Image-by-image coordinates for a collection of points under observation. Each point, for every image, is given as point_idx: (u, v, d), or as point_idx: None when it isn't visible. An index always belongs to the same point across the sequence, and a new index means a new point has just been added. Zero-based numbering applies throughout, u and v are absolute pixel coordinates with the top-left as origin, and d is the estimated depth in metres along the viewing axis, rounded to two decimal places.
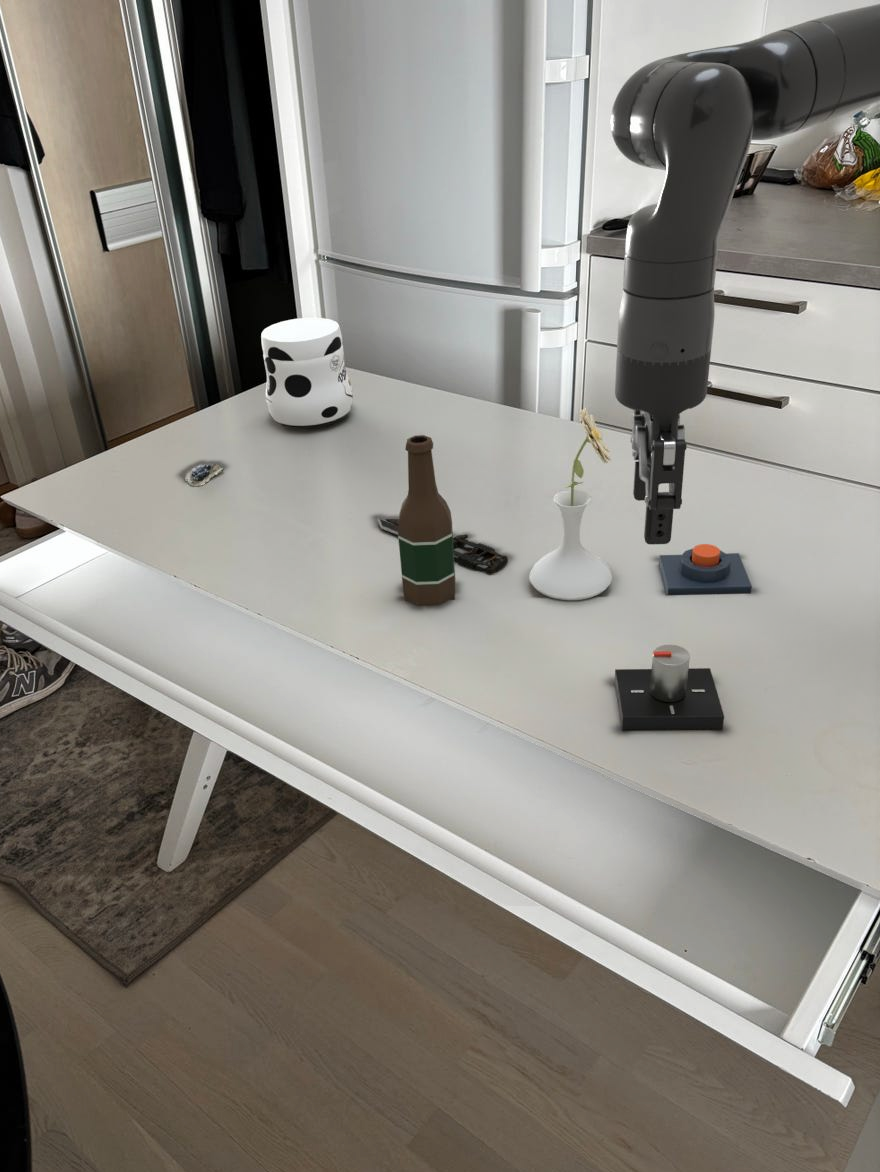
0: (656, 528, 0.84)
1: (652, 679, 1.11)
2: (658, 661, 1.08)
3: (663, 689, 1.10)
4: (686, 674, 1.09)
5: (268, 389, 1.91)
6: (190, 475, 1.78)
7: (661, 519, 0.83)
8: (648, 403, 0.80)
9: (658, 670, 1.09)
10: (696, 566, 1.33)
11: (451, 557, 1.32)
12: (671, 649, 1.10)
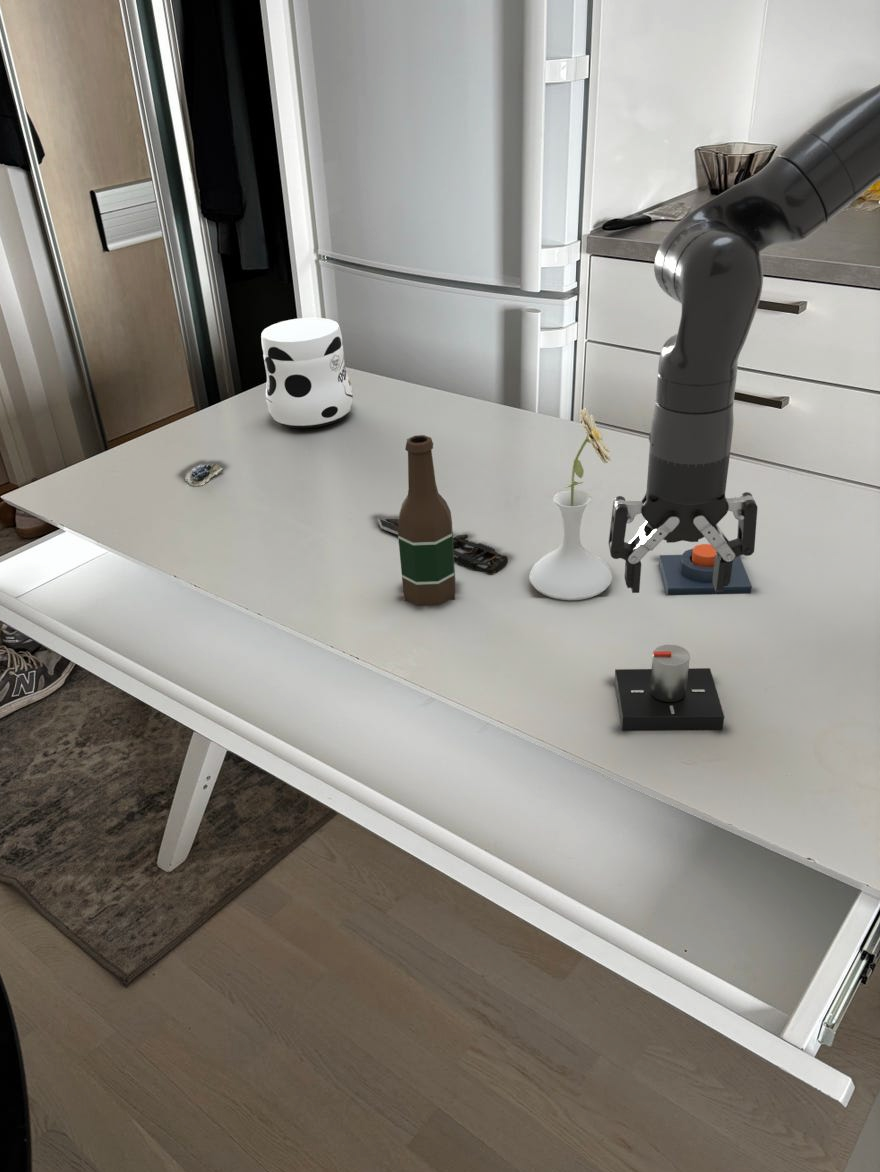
0: (625, 572, 1.03)
1: (652, 679, 1.11)
2: (658, 661, 1.08)
3: (663, 689, 1.10)
4: (686, 674, 1.09)
5: (268, 389, 1.91)
6: (190, 475, 1.78)
7: None
8: None
9: (658, 670, 1.09)
10: (696, 566, 1.33)
11: (451, 557, 1.32)
12: (671, 649, 1.10)
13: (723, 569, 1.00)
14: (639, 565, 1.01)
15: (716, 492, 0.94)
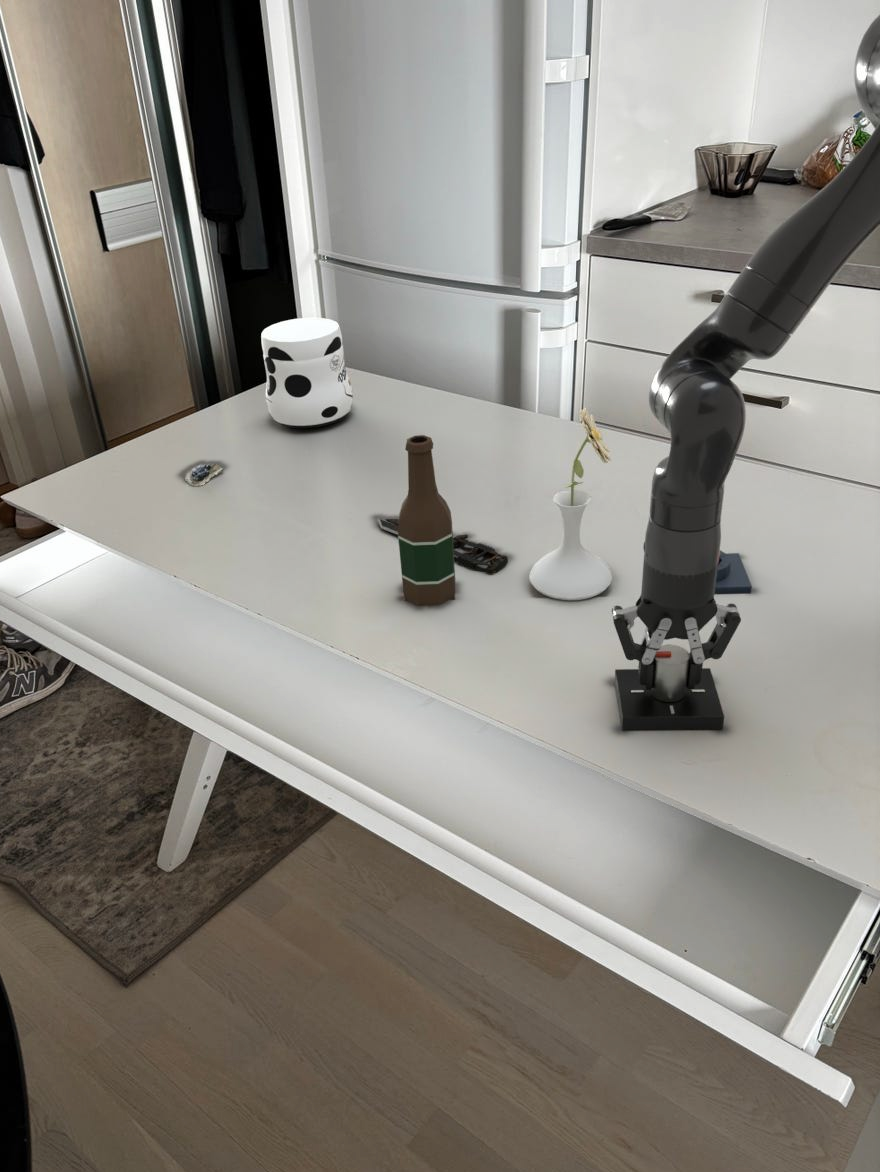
0: (638, 670, 1.11)
1: None
2: (658, 661, 1.08)
3: (663, 689, 1.10)
4: (686, 674, 1.09)
5: (268, 389, 1.91)
6: (190, 475, 1.78)
7: None
8: None
9: (658, 670, 1.09)
10: None
11: (451, 557, 1.32)
12: (671, 649, 1.10)
13: (694, 670, 1.09)
14: (652, 666, 1.09)
15: (705, 598, 1.01)
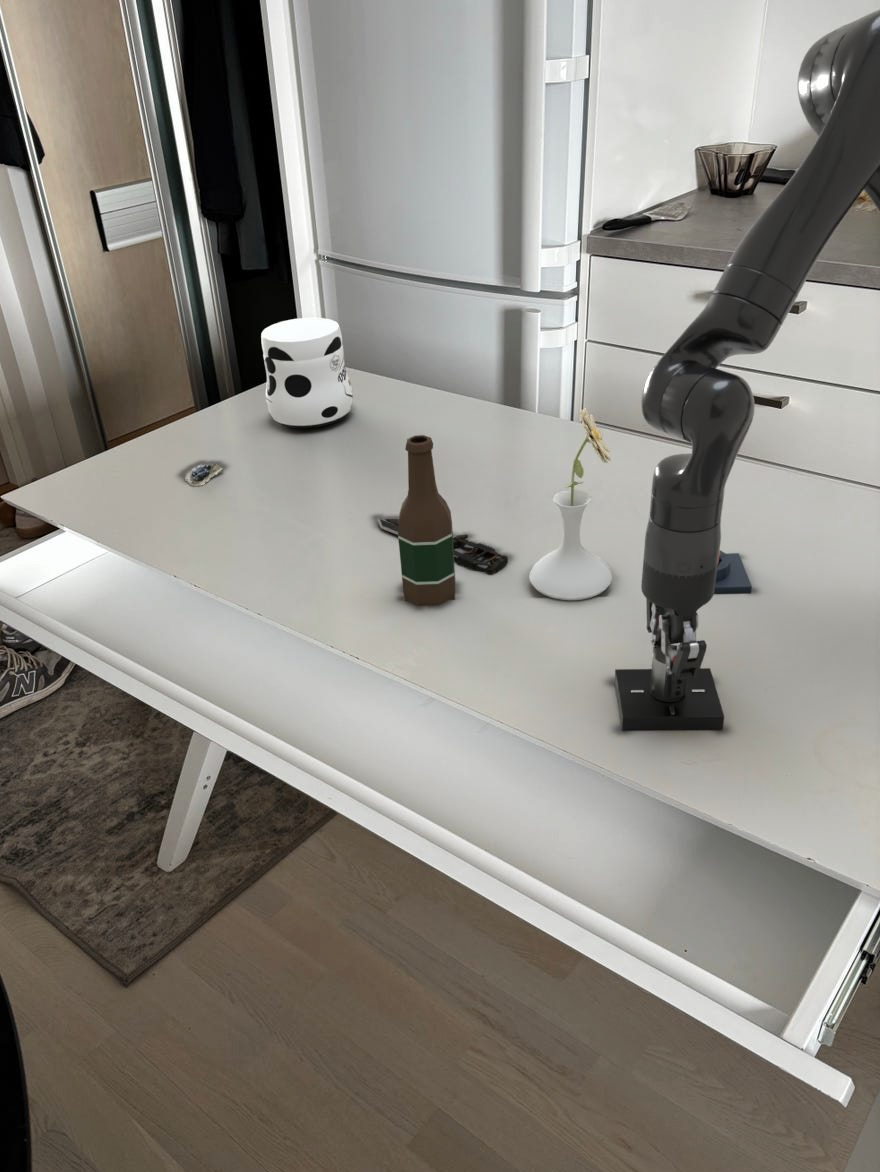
0: (675, 690, 1.08)
1: None
2: None
3: None
4: None
5: (268, 389, 1.91)
6: (190, 475, 1.78)
7: (679, 683, 1.07)
8: (674, 603, 1.01)
9: None
10: None
11: (451, 557, 1.32)
12: (663, 655, 1.09)
13: None
14: None
15: None
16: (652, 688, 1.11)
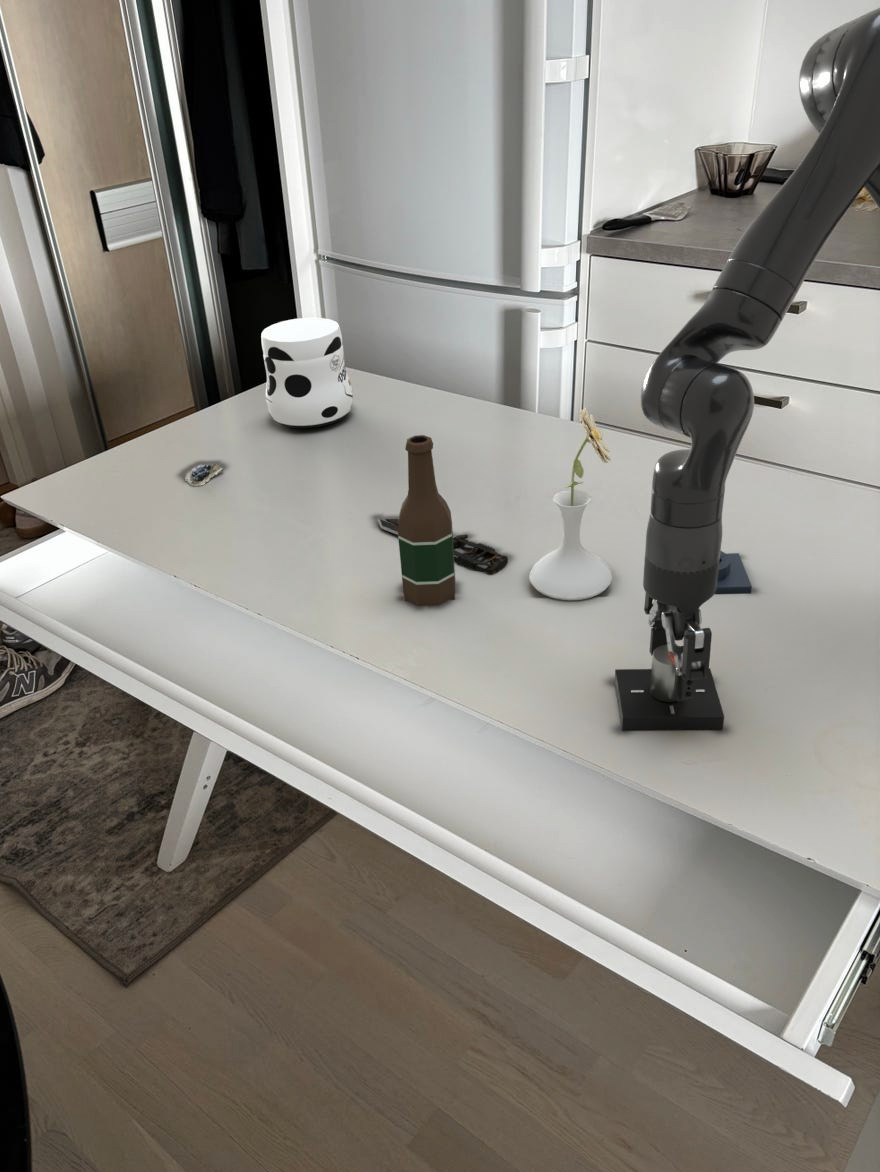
0: (685, 690, 1.05)
1: None
2: None
3: None
4: None
5: (268, 389, 1.91)
6: (190, 475, 1.78)
7: (689, 683, 1.05)
8: (677, 600, 1.01)
9: None
10: None
11: (451, 557, 1.32)
12: (663, 655, 1.09)
13: None
14: None
15: None
16: (652, 688, 1.11)
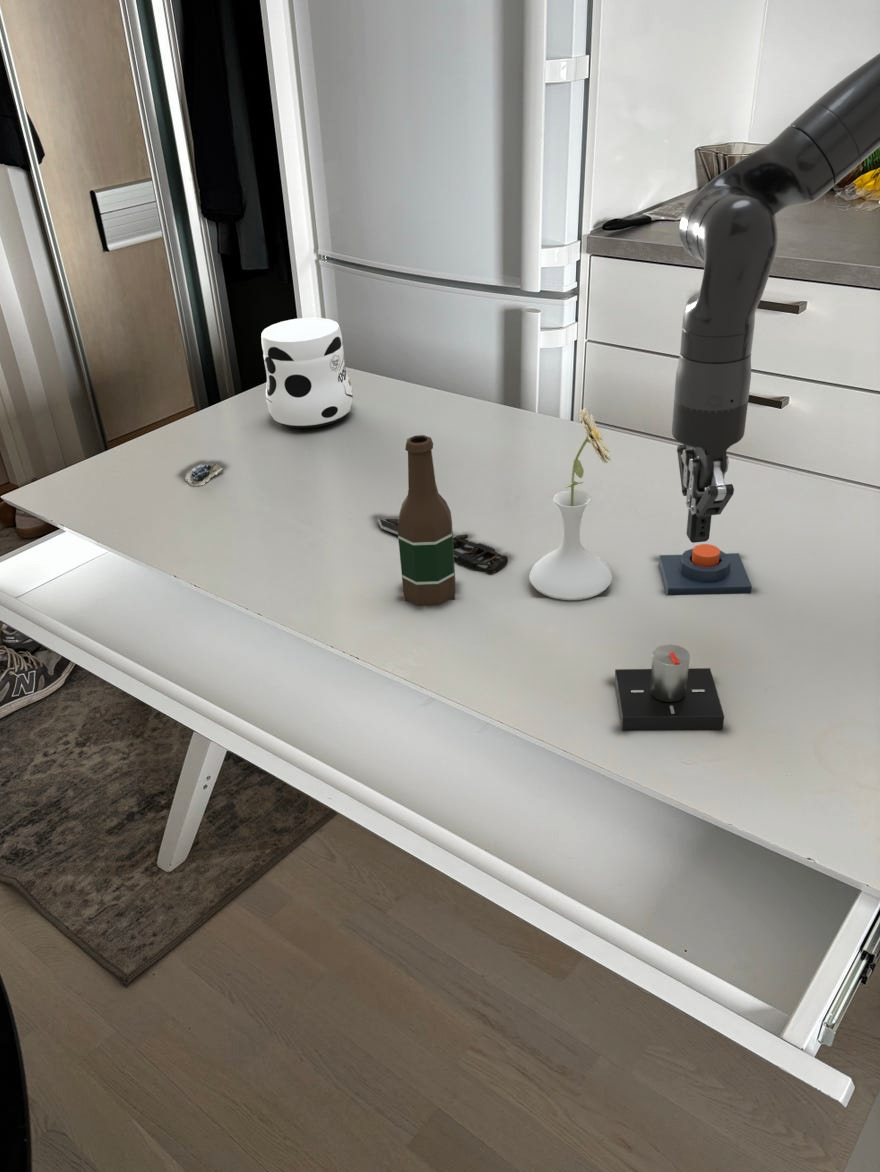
0: (699, 530, 1.11)
1: (679, 685, 1.09)
2: (686, 662, 1.08)
3: None
4: None
5: (268, 389, 1.91)
6: (190, 475, 1.78)
7: (703, 522, 1.10)
8: (704, 441, 1.02)
9: (686, 669, 1.09)
10: (696, 566, 1.33)
11: (451, 557, 1.32)
12: (663, 655, 1.09)
13: None
14: None
15: None
16: (652, 688, 1.11)
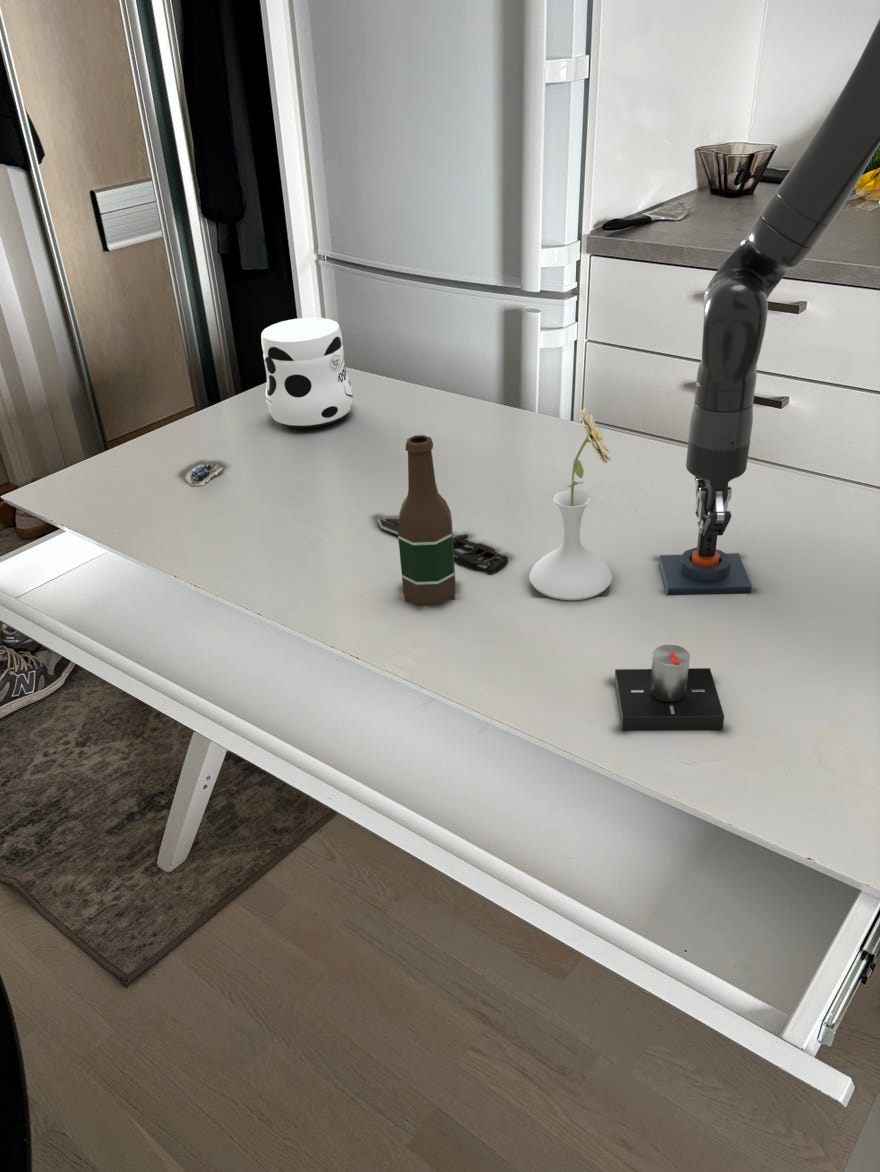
0: (706, 547, 1.32)
1: (679, 685, 1.09)
2: (686, 662, 1.08)
3: None
4: None
5: (268, 389, 1.91)
6: (190, 475, 1.78)
7: (709, 541, 1.32)
8: (709, 474, 1.24)
9: (686, 669, 1.09)
10: (696, 566, 1.33)
11: (451, 557, 1.32)
12: (663, 655, 1.09)
13: None
14: None
15: None
16: (652, 688, 1.11)
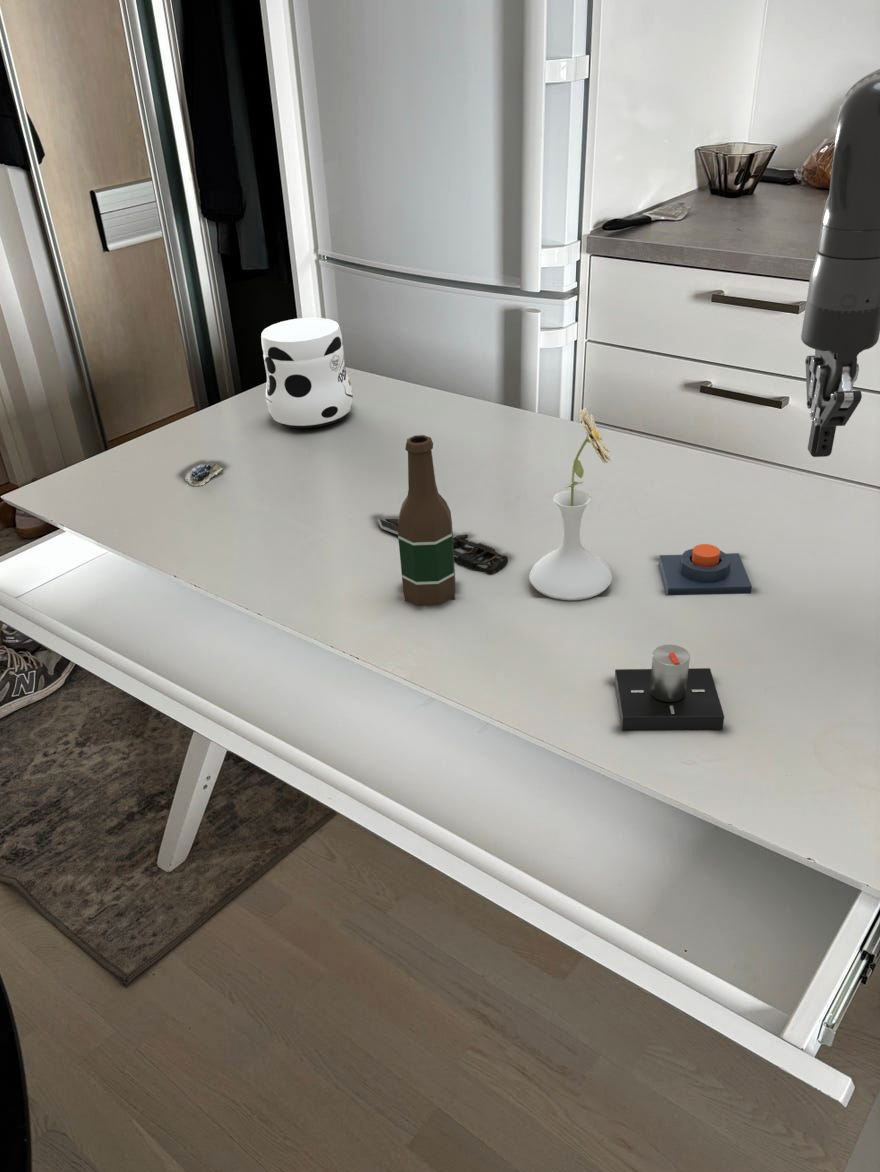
0: (822, 443, 1.08)
1: (679, 685, 1.09)
2: (686, 662, 1.08)
3: None
4: None
5: (268, 389, 1.91)
6: (190, 475, 1.78)
7: (826, 435, 1.07)
8: (835, 344, 1.00)
9: (686, 669, 1.09)
10: (696, 566, 1.33)
11: (451, 557, 1.32)
12: (663, 655, 1.09)
13: None
14: None
15: None
16: (652, 688, 1.11)
